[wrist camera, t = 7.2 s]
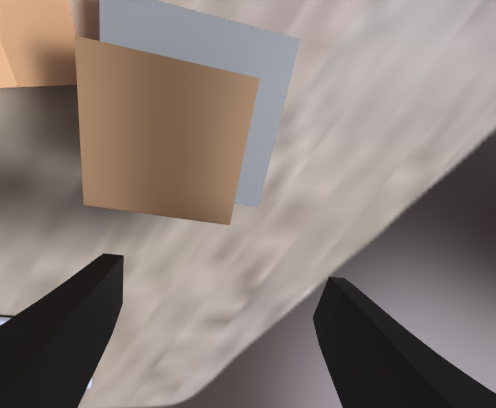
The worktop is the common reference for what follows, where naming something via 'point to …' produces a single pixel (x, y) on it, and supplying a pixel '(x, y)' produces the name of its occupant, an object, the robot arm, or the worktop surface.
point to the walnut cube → (160, 132)
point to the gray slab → (214, 65)
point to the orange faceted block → (36, 43)
